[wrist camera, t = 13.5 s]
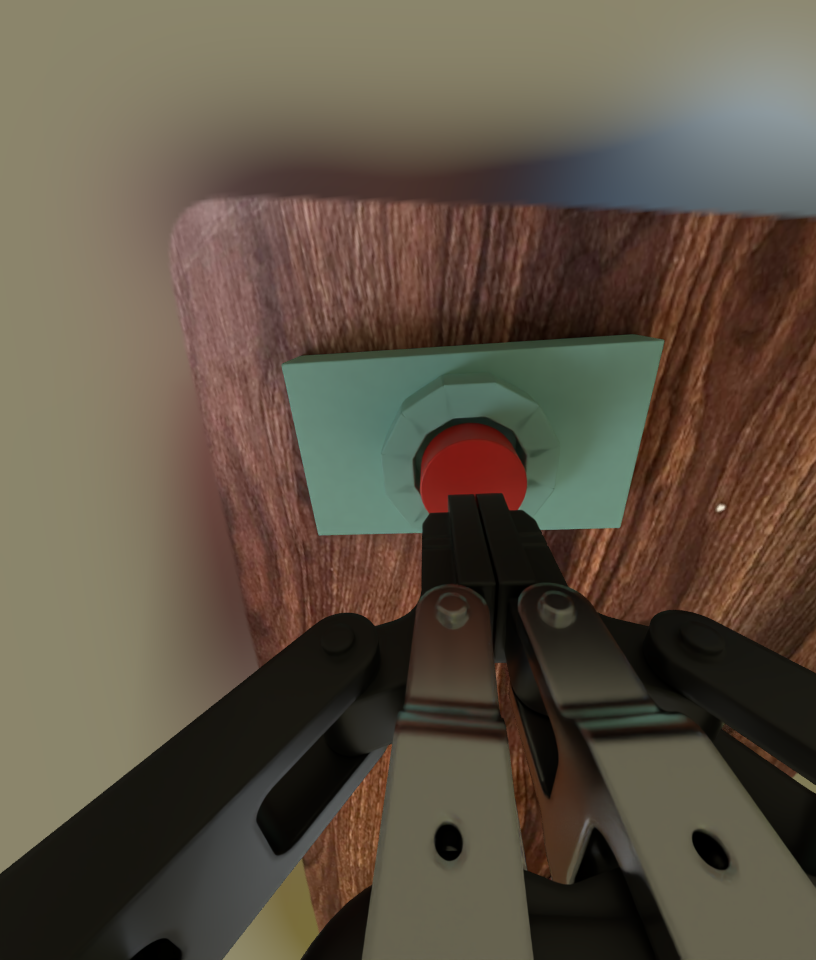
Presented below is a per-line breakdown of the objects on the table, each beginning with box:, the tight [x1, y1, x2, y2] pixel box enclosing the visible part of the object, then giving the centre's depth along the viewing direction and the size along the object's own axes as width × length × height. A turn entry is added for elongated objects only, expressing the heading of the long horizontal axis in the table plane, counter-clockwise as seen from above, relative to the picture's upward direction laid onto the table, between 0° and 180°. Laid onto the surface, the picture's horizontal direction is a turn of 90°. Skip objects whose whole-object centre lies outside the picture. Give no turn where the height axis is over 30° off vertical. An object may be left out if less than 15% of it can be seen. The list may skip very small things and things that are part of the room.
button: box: [420, 423, 527, 514], centre depth 13 cm, size 4×4×2 cm
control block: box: [282, 334, 664, 535], centre depth 15 cm, size 14×8×4 cm, turn 94°
